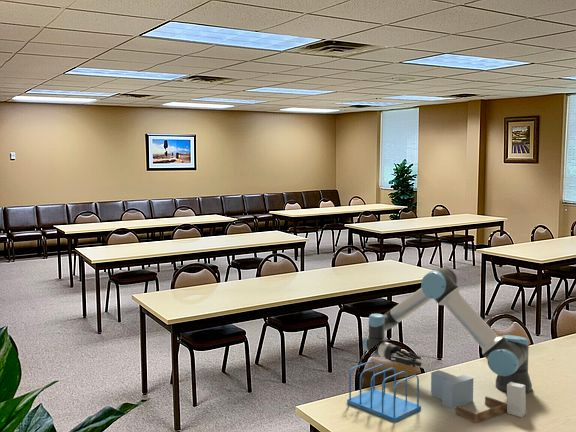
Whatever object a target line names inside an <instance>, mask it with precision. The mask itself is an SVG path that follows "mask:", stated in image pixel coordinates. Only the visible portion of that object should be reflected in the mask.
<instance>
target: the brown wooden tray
mask: <svg viewBox="0 0 576 432" xmlns="http://www.w3.org/2000/svg"><path fill="white" fill-rule="evenodd" d="M484 404H485V405H487V406H489V407H492V408H488V409H486V410H483V411H480V412H477V413H476V412H472V411H471V410H467V409H465V408H463V407H462V406H457V407H455V415H456V416H460V417H461V418H464V419H466V420H468V421H470V422H471V421H472V422H474V423H475V424H478V423H480V422H484V421H485V420H488V419H491V418H493V417H496V416H499V415H502V414H504V413H507V402H504V401H500V400H497V399H496V398H492V397H489V396H487V395H486V396H485V397H484Z"/></svg>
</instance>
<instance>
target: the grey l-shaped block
mask: <svg viewBox="0 0 576 432" xmlns="http://www.w3.org/2000/svg"><path fill="white" fill-rule="evenodd" d="M430 374H431V375H430V395H431V396H432V397H435V398H438V399H440V400H441V401H442V406H445V407H447V408H449V409H456V407H457V406H458V407H462V406H463V405H466V404H470V403H472V402H474V377H471V376H468V375H466V374H462V375H459V376H457V375H454V374H451V373H448V372H447V371H446V372H445V371H443V370H441V369H437V370H434V371H431V372H430Z"/></svg>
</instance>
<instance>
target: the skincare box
mask: <svg viewBox="0 0 576 432" xmlns="http://www.w3.org/2000/svg"><path fill="white" fill-rule="evenodd" d="M526 394H527V393H526V392H525V385H523V384H518V383H514V382H510V383H508V384H507V392H506V404H507V412H506V414H509V415H512V416H515V417H520V418H523V417H524V416H525V415H526V414H527V413H526V411H527V410H526V407H527V406H526V403H527V401H526V399H527V397H526Z"/></svg>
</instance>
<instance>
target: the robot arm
mask: <svg viewBox="0 0 576 432" xmlns="http://www.w3.org/2000/svg"><path fill="white" fill-rule="evenodd" d="M457 284H458V277H457V274H456V273H455V271H454V270H452V269H451V268H448V267H440V268H438V269H435V270H431V271H429V272H428V273H426V274H425V275H424V276H423V277H422V280H421V285H420V288H419V289H418V290H416V291H414V292H413V293H412V294H410V295H409V296H408V297H406V298H405V299H403V300H402V301H401V302H399V303H398V304H396V305H395V306H393V308H391V309H390V310H388V311H387V312H385V313H384V314H381V313H371V314H369V316H368V336H367V337H365V339H364V342H363V349H364V350H365V351H366V352H368V351H369V350H370V349H371V348H372V347H374V346H375V345H376V346H377V349H376V350H375V352H374V353H373V355H375V356H379V357H381V358H383V359H385V360H388V361H390V362H391V363H393V362H394V363H397V364H398V363H399V364H402V365H406V366H412V368H415V366H416V367H419V368H420V369H421V368H422V369H424V370H429V369H430V363H429V362H427V361H425V360H422V357H421V356H419V355H418V354H415V353H413V351H412V350H411V351H410V350H409V351H408V352H406V351H404V350H401V348H400V346H399V345H396V344H393V343H390V342H388V341H385V332H386V331H388V330H390V329H392V328H394V327H396V326H397V325H398V324H399V323H401V322H402V321H403V320H404V319H407V318H408V317H409V316H411V315H412V314H413V313H416V311H418V310H420V309H421V308H422V307H424V306H425V305H427V304H428V303H429V302H431V301H432V300H434V301H435V302H436V303H437V304H438V305H439V306H444V307H445V308H446V309H447V310H448V311H449V313H451V315H452V316H453V317H454V319H456V320H457V322H458V323H459V324H460V325H461V326H462V327H463V328H464V329H465V331H466V332H467V333H468V334H469V335H470V337H471V338H472V339H474V341H475V342H476V343H477V344H478V345H479V346H480V348H481V353H482V355H483V357H484V358H485V359H486V360H487V366H488V368H489V369H490V370H491V372H492V373H494V374H495V375H497V376H496V378H495V387H496V388H497V389H499V390H500V391H503V392H506V393H507V384H508V383H510V382H514V383H518V384H523V385H525V392H526V393H525V394H527V393H530V392H532V390H533V383H532V381H531V378H530V374H529V352H530V351H529V347H530V345H529V344H530V343H529V340H528V338H526V337H523V336H519V335H510V334H505V335H498V334H497V333H496V332H495V331H494V330H493V329H492V328H491V326H489V324H488V323H487V322H486V321H485V320H484V319H483V318H482V317H481V316H480V315H479V313H478V312H477V311H476V310H475V309H474V308H473V306H472V305H471V304H470V303H468V301H467V300H466V299H465V298H464V297H463V296H462V294H460V287H459V286H458V285H457ZM381 342H382V343H381ZM379 343H380V345H379ZM377 344H378V345H377ZM376 346H375V347H376Z"/></svg>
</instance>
